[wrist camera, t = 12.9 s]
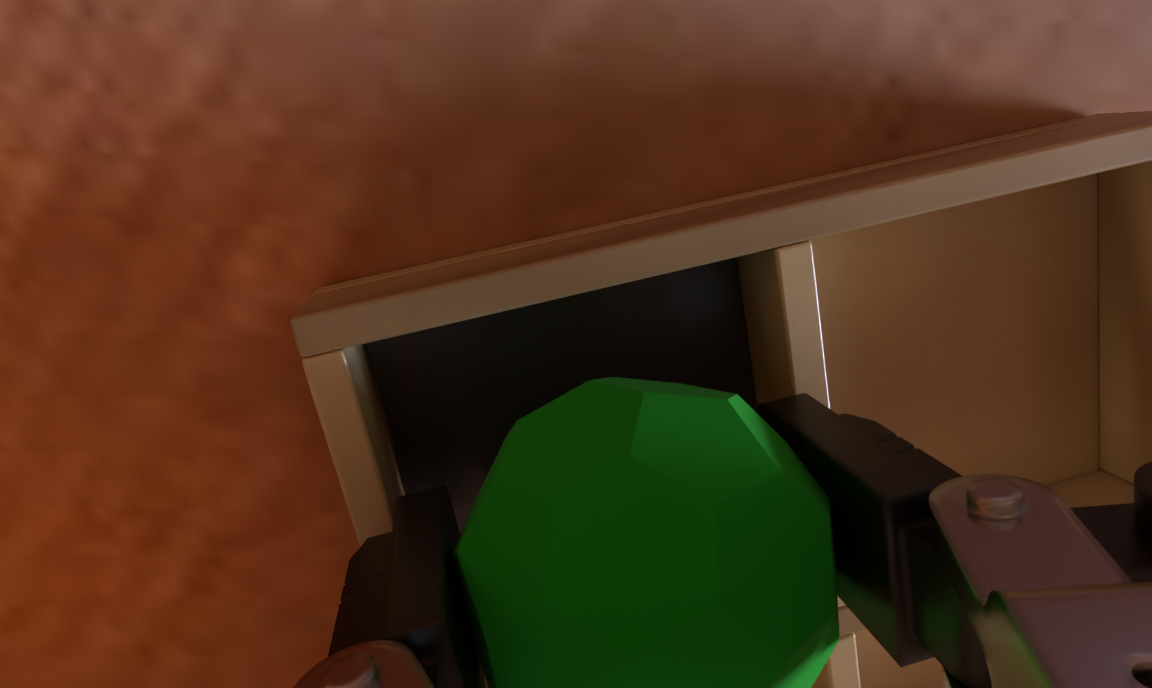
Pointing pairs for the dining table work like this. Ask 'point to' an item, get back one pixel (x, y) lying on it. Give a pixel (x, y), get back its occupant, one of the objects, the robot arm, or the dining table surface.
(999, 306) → the compartment tray
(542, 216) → the dining table surface
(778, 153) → the dining table surface
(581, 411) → the polyhedron
